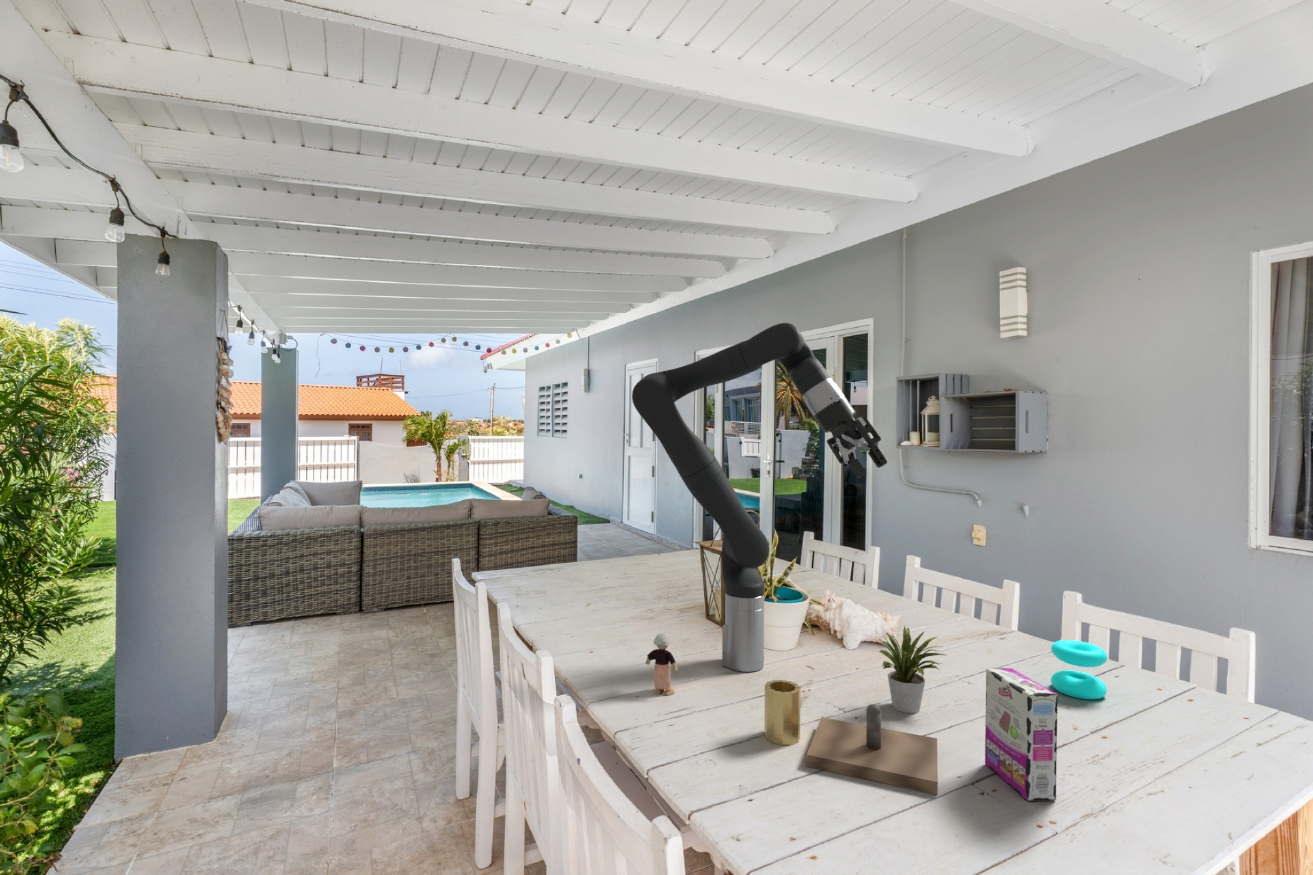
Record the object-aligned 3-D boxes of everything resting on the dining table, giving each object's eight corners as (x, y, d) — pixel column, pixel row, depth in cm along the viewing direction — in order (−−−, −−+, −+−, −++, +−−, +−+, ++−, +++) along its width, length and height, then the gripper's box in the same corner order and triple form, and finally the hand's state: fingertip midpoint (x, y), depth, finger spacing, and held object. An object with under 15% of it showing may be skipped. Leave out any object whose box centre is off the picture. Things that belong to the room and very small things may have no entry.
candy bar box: (1058, 801, 95) (1060, 694, 95) (1027, 802, 95) (1028, 695, 95) (1011, 762, 107) (1012, 666, 106) (983, 763, 106) (984, 667, 106)
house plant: (907, 732, 117) (907, 645, 117) (852, 703, 129) (852, 624, 129) (958, 716, 123) (958, 633, 123) (901, 690, 136) (901, 615, 136)
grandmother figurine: (681, 690, 135) (681, 632, 135) (676, 697, 132) (676, 637, 131) (647, 685, 138) (648, 628, 138) (641, 692, 134) (641, 633, 134)
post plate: (806, 766, 105) (807, 711, 105) (821, 727, 119) (821, 679, 119) (937, 794, 97) (938, 735, 97) (937, 749, 111) (937, 697, 110)
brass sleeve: (761, 740, 114) (761, 690, 113) (769, 725, 119) (769, 677, 119) (795, 747, 111) (796, 696, 111) (802, 732, 117) (802, 683, 117)
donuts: (1110, 645, 136) (1103, 657, 128) (1109, 691, 136) (1102, 706, 128) (1056, 634, 142) (1046, 645, 135) (1056, 678, 142) (1046, 692, 135)
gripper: (801, 424, 137) (843, 487, 134) (829, 400, 124) (876, 470, 121) (827, 409, 139) (869, 471, 136) (857, 384, 126) (904, 452, 123)
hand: (872, 471), depth 128 cm, fingers open, 8 cm apart
